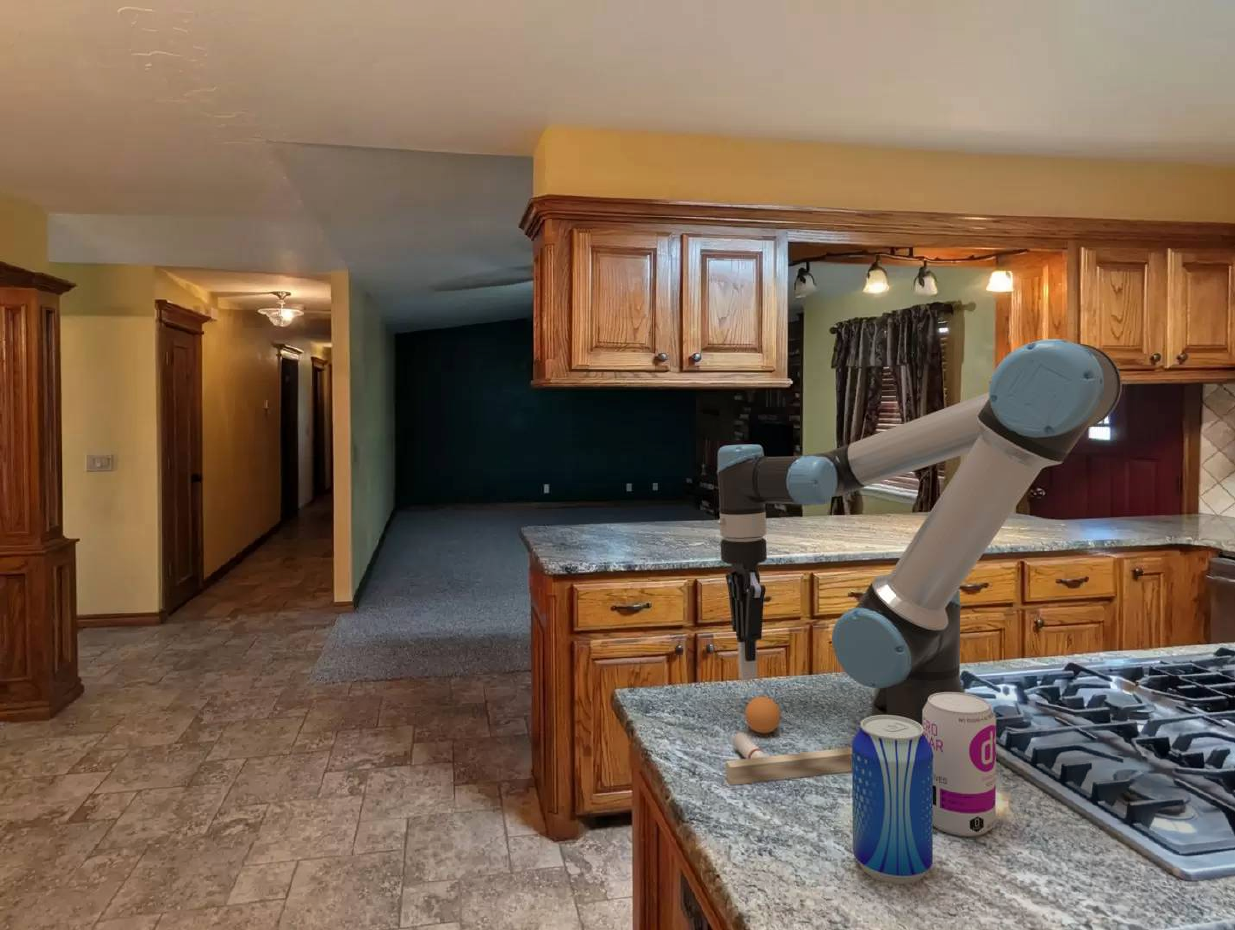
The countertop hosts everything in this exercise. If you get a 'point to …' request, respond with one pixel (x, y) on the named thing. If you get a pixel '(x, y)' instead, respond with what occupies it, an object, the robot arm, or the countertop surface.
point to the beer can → (892, 799)
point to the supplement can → (962, 762)
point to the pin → (747, 747)
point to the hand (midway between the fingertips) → (748, 677)
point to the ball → (762, 715)
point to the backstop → (789, 766)
